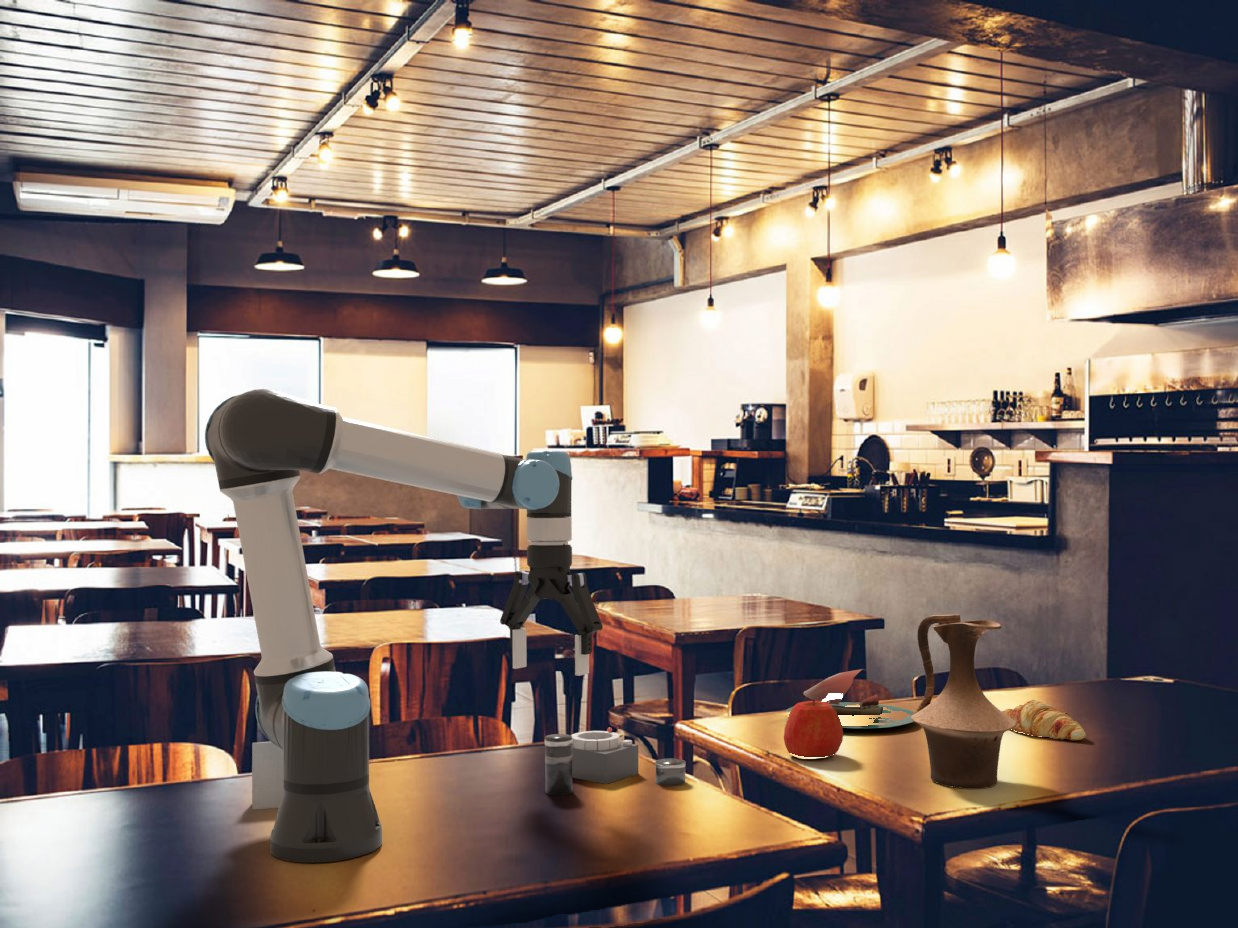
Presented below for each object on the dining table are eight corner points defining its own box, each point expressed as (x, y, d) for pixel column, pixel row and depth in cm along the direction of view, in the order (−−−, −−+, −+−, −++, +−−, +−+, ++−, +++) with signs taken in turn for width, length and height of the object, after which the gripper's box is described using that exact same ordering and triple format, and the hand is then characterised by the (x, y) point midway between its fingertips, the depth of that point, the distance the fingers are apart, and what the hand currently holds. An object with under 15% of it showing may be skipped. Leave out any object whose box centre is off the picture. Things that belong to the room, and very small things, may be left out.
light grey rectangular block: (297, 805, 185) (296, 742, 185) (252, 809, 183) (252, 745, 183) (296, 800, 188) (296, 737, 188) (252, 803, 186) (252, 740, 187)
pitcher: (890, 781, 196) (888, 615, 197) (939, 764, 209) (936, 607, 210) (989, 799, 185) (986, 622, 185) (1035, 779, 197) (1032, 613, 198)
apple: (838, 765, 209) (837, 705, 209) (778, 761, 212) (777, 702, 212) (847, 752, 219) (846, 695, 219) (789, 749, 222) (788, 692, 223)
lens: (560, 796, 189) (559, 740, 189) (539, 792, 192) (538, 737, 192) (578, 790, 192) (578, 735, 193) (557, 786, 195) (557, 732, 195)
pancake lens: (673, 787, 194) (673, 766, 194) (649, 783, 197) (649, 762, 197) (691, 781, 198) (691, 761, 198) (667, 777, 201) (667, 757, 201)
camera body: (605, 783, 197) (605, 739, 197) (552, 773, 204) (552, 731, 204) (638, 773, 204) (638, 730, 204) (585, 764, 211) (585, 723, 211)
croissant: (1094, 759, 227) (1106, 721, 229) (1065, 740, 222) (1077, 701, 225) (1005, 738, 245) (1017, 702, 247) (976, 720, 240) (989, 684, 242)
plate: (770, 711, 261) (769, 661, 261) (891, 708, 264) (891, 658, 264) (803, 737, 233) (803, 681, 233) (939, 733, 236) (938, 677, 236)
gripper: (622, 543, 191) (623, 674, 190) (509, 541, 206) (509, 662, 205) (594, 545, 185) (595, 680, 184) (479, 542, 200) (480, 667, 199)
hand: (550, 671), depth 195 cm, fingers open, 13 cm apart
